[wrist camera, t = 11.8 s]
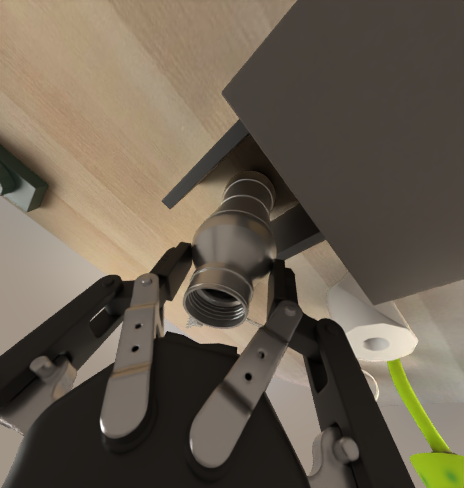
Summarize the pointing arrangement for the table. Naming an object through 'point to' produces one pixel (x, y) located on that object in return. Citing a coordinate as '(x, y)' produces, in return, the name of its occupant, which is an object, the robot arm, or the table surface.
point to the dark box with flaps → (361, 137)
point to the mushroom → (441, 459)
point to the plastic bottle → (232, 253)
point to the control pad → (20, 182)
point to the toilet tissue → (369, 323)
